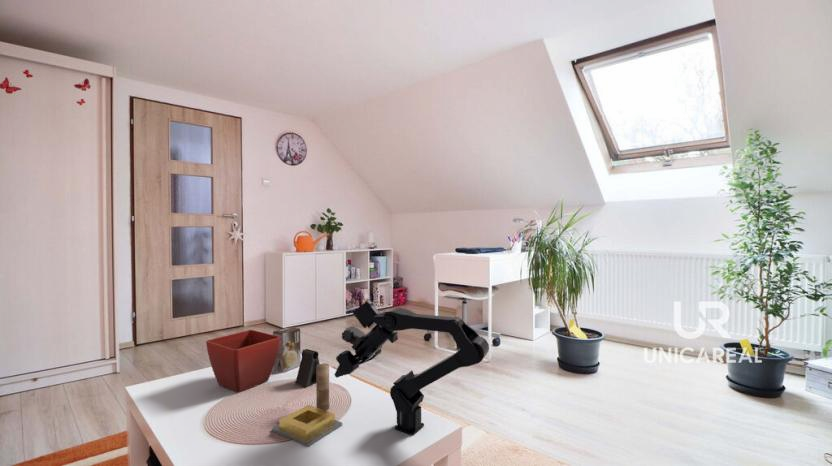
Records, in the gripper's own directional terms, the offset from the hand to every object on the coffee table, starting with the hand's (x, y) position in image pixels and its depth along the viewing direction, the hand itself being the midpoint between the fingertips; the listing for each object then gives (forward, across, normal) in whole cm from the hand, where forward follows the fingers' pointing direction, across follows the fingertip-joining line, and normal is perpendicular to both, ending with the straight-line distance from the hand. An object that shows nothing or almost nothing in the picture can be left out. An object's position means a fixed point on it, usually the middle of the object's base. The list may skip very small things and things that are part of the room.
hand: (343, 370), depth 121 cm
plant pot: (+43, -6, -24) cm, 50 cm away
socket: (+13, +12, +6) cm, 18 cm away
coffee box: (+40, -24, -21) cm, 52 cm away
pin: (+15, 0, +4) cm, 16 cm away
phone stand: (+28, -16, -8) cm, 33 cm away
